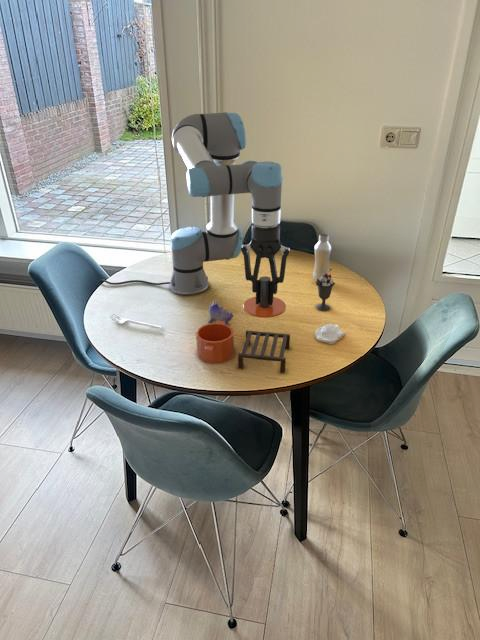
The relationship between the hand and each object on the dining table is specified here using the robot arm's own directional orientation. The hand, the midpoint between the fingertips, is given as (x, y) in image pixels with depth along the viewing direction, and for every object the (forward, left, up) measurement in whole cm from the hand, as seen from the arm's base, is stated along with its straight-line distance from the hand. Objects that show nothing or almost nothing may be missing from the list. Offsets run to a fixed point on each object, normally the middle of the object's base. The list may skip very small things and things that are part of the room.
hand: (264, 302), depth 138 cm
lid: (0, 0, -2) cm, 2 cm away
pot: (-15, 0, -19) cm, 25 cm away
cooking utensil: (-52, +13, -19) cm, 57 cm away
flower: (-18, +17, -20) cm, 31 cm away
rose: (+20, +16, -19) cm, 32 cm away
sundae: (+17, +36, -20) cm, 44 cm away
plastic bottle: (+15, +57, -20) cm, 62 cm away
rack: (0, 0, -19) cm, 19 cm away
